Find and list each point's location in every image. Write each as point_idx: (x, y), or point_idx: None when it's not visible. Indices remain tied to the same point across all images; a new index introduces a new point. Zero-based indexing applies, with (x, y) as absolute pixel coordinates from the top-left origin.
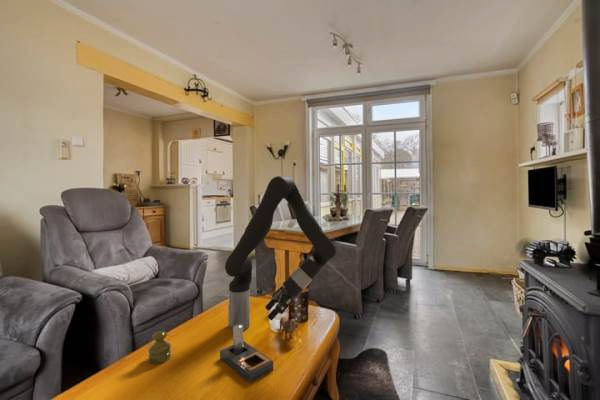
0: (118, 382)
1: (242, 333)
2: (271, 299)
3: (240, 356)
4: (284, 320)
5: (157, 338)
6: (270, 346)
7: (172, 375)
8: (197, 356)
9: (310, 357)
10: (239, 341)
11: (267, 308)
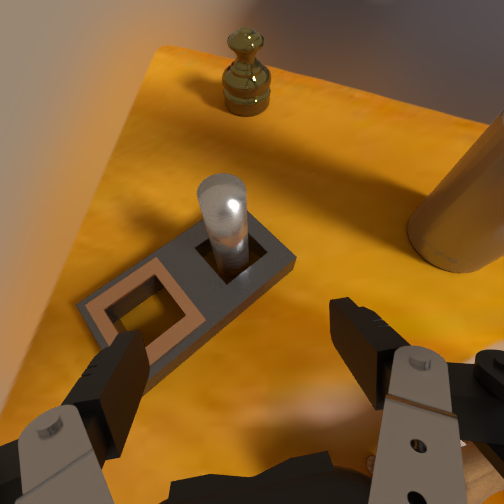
0: (175, 76)
1: (214, 228)
2: (401, 349)
3: (188, 262)
4: (480, 472)
5: (227, 41)
6: (307, 377)
7: (178, 138)
8: (250, 163)
9: None
10: (208, 235)
11: (333, 322)
